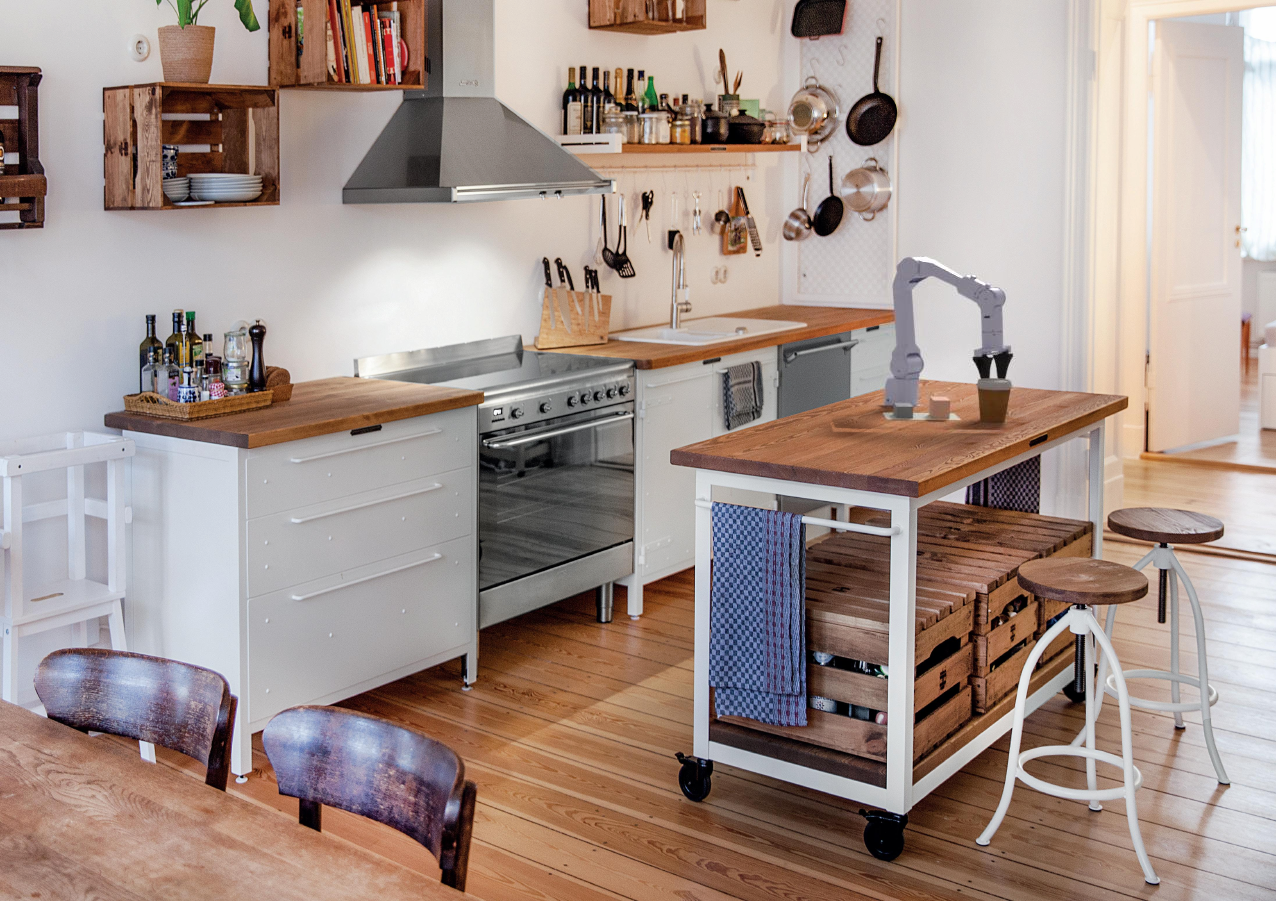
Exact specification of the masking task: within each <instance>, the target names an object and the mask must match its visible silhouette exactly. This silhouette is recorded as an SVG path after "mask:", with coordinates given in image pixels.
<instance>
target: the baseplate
mask: <svg viewBox="0 0 1276 901" xmlns="http://www.w3.org/2000/svg"><path fill="white" fill-rule="evenodd" d="M882 415H883V416H884V418H885V419H886V420H887V421H888V420H892V421H898V420H899V421H900V420H902V421H904V420H905V421H907V420H908V421H909V420H910V421H962V419H961V418H960V417H959V416H958V415H957V414H955V413H954V412H953V413H952V412H950V419H942V418H932V417H931V416H930V415H929V412H913V418H896V417H895V416H894V414H893V412H882Z"/></svg>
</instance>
